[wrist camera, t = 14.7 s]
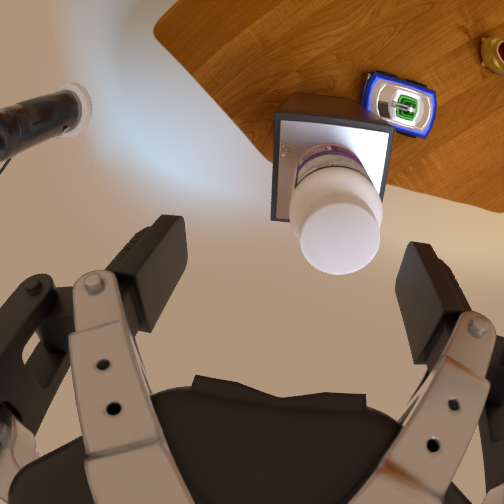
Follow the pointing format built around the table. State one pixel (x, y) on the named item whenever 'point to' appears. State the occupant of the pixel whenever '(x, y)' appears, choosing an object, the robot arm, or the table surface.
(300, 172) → the pill bottle
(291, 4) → the table surface
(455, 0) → the table surface
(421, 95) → the toy car
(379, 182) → the tall grey box
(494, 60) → the mug
